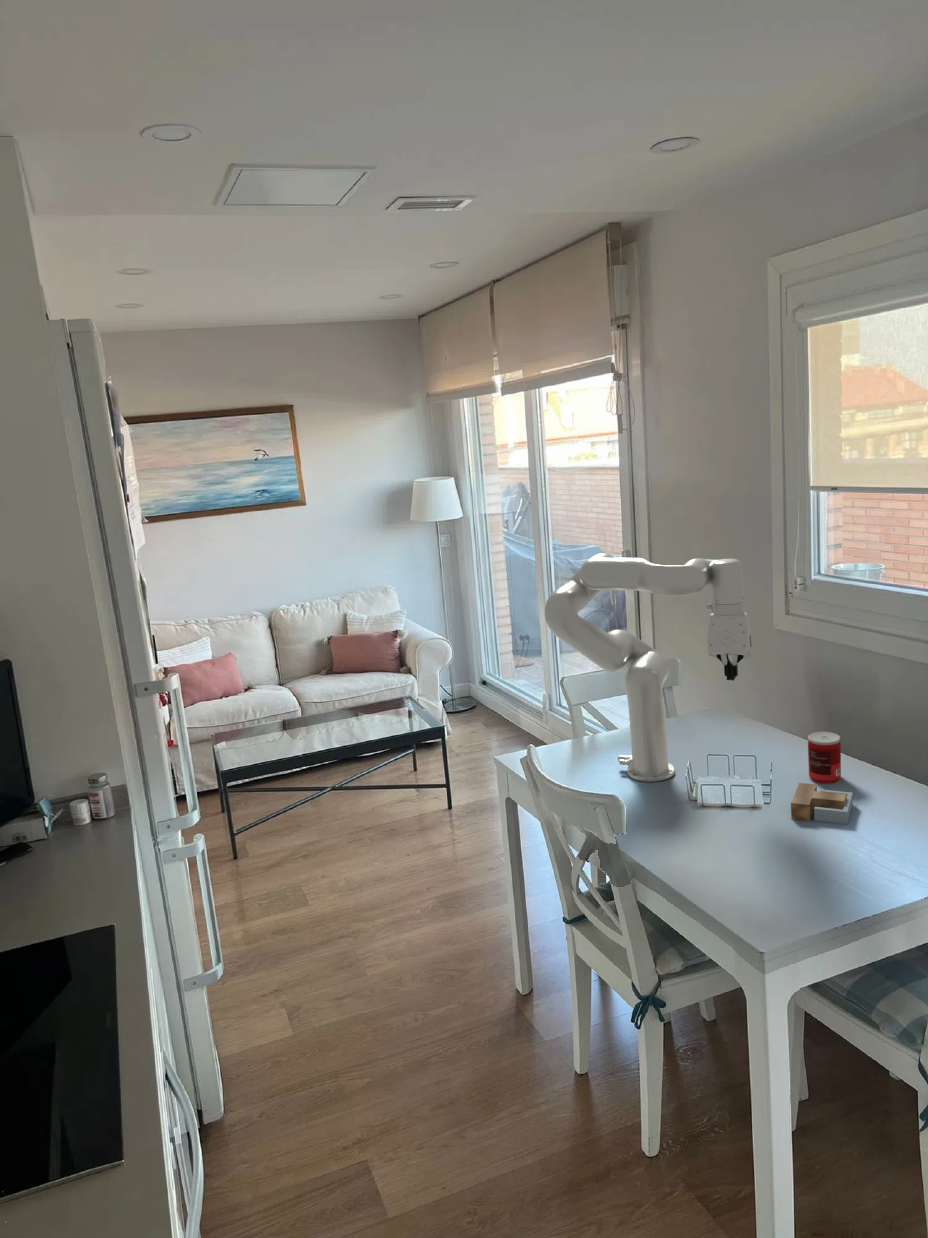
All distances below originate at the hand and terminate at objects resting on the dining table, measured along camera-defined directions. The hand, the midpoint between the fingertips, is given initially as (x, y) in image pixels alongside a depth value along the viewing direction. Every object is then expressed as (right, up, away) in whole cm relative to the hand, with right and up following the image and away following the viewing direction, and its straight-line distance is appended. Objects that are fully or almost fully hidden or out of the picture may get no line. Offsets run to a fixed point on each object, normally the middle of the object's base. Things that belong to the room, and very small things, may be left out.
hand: (731, 678), depth 227 cm
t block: (+16, -30, -17) cm, 38 cm away
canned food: (+24, -25, +1) cm, 35 cm away
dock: (+18, -30, -19) cm, 40 cm away
